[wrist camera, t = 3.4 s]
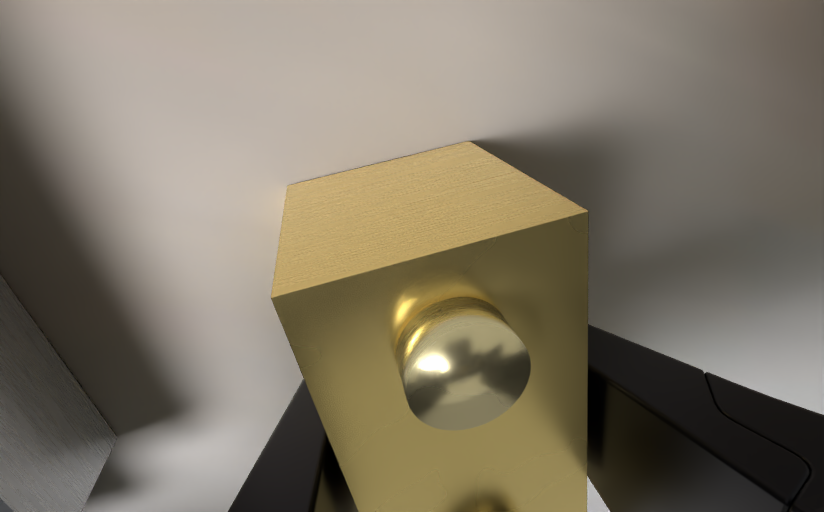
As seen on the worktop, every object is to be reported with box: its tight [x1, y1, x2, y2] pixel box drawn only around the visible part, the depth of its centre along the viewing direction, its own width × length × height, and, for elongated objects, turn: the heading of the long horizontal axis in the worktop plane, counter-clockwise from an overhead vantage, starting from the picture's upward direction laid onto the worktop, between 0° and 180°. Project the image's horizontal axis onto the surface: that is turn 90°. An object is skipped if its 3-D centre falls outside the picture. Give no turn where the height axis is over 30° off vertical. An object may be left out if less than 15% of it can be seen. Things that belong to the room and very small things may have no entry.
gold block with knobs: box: [271, 141, 588, 512], centre depth 8 cm, size 7×4×5 cm, turn 10°
